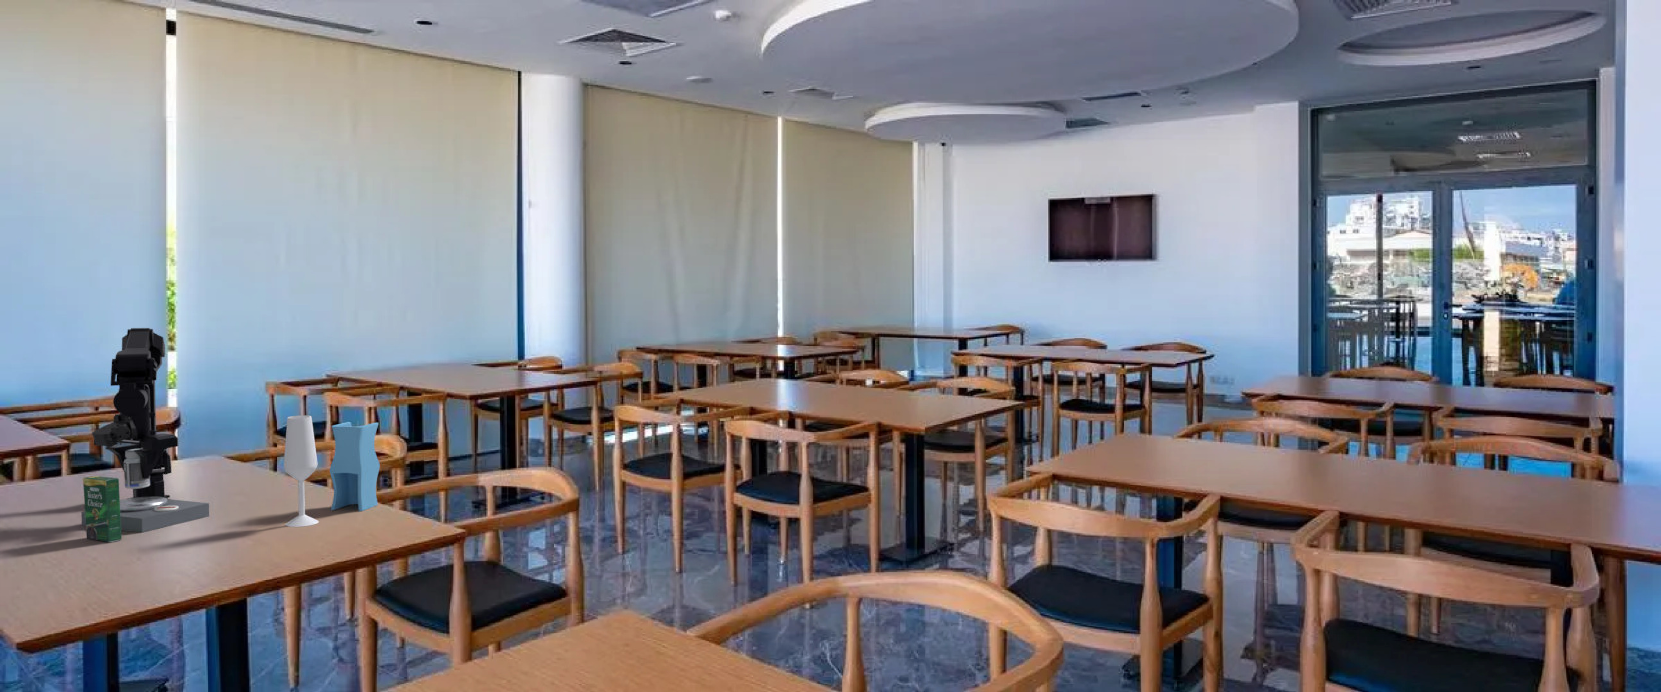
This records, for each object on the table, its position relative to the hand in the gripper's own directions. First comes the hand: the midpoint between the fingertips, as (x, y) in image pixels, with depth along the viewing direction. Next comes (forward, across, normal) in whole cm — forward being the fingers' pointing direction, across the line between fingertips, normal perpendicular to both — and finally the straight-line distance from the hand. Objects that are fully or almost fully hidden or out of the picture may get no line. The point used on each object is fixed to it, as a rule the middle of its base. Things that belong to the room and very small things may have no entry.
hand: (137, 477), depth 225 cm
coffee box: (+10, +10, -15) cm, 20 cm away
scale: (+10, +3, 0) cm, 10 cm away
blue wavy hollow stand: (+10, +36, +27) cm, 46 cm away
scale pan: (+7, 0, 0) cm, 7 cm away
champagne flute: (+10, +37, +10) cm, 39 cm away
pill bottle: (+2, 0, 0) cm, 2 cm away
